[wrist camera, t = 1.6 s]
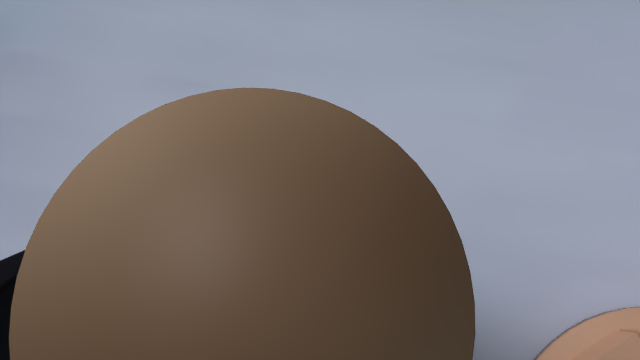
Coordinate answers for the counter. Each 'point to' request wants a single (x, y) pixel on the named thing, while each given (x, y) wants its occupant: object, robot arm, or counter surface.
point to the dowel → (245, 243)
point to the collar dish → (599, 338)
